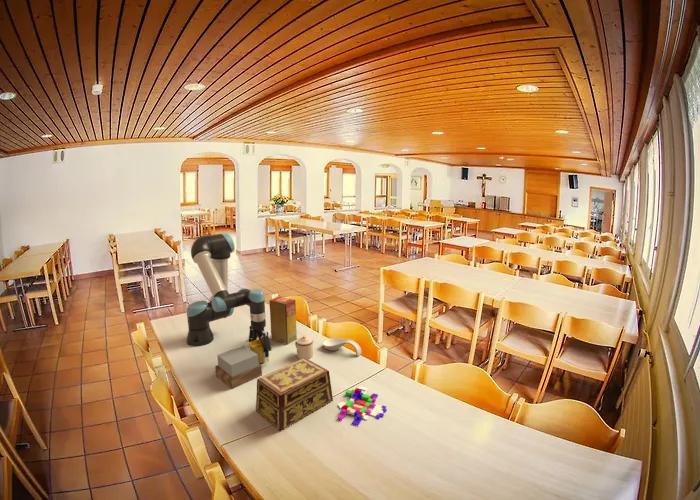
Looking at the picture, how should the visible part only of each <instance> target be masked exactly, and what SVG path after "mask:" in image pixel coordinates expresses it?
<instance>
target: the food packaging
mask: <svg viewBox="0 0 700 500" xmlns="http://www.w3.org/2000/svg"><path fill="white" fill-rule="evenodd" d="M296 304H297V303H296V299H292V298H288V297H283V296H281V295H279V296H276V297H274V298H271V299H270V300H269V314H270V315H269V316H270V317H269V319H270V337H271V341H274V342H278V343H281V344H283V345H289V344H291V343H292V342H294V341H297V340H298V338H297V337H298V336H297V333H298V332H297V308H296V307H297V305H296Z"/></svg>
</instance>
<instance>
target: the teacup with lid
mask: <svg viewBox="0 0 700 500" xmlns="http://www.w3.org/2000/svg"><path fill="white" fill-rule="evenodd" d="M294 344H295V347H296V356H297V359H298V360H300V359H303V358H306V359H308V360H310V359H311V358H313V356H314V346H313V345H314V339H313V338H311V337H309V336H307V335H302V337H299V338H297V339H296V340H295V342H294Z"/></svg>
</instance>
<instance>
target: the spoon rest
mask: <svg viewBox="0 0 700 500" xmlns="http://www.w3.org/2000/svg"><path fill="white" fill-rule="evenodd" d="M347 344H349V345H350V346H352V347H353V348H354V350H355V352H356V353H355V354H356V357H357V358H358V357H359V356H361V355H362V348H361V346H360V345H359V344H358V343H357V342H356V341H354V340H353V339H351V338H350V339H349V338H348V339H347V338H340V337H331V338H326V339H325V340H324V341H322V346H323V347H324V348H325V349H327V350H330V351H338V350H339V349H340V348H342V347H343V346H344V345H347Z"/></svg>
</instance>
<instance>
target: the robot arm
mask: <svg viewBox="0 0 700 500" xmlns="http://www.w3.org/2000/svg"><path fill="white" fill-rule="evenodd" d="M234 252H235V243H234V239H233V237H232V236H231V235H230V234H228V233H217V234H210V235H209V234H208V235H202V236H199V237H197V238H196V239H195V240H194V241H193V243H192V245H191V247H190V255H191V259H192V260H193V262H194V264H196V265H197V266H198V269H199V271H200V273H201V275H202V276H203V279H204V281H205V283H206V285H207V287H208V289H209V291H210V292H211V293H210V294H211V296H210V297H209V298H210V300H209V301H206V300H198V301H193V302H192V303H191V304H189V305H187V307H186V318H187V326H188V328H187V329H188V331H187V336H186V344H187V346H190V347H201V346H205V345H207V344H211V343H212V342H213V341H214V339H215V338H214V336H215V335H214V333H213V331H212V329H211V326H210V323H211V322H214V321H218V320H222V319H226V318H228V317H230V316H232V315H233V313H234V311H235V308H238V307H243V306H248V307H249V312H250V313H249V314H250V315H249V317H250V325H249V332H248V333H249V334H248V342H249V343H250V342H252V341H255V340H257V339H259V340H260V341H261V344H262V346H263V349H264V351H263V359H264V362H263V363H264V364H266V363H269V362H270V354H269V353H270V352H271V351H272V346H271V342H270V337H269V332H268V331H265V327H267V326H266V325H267V323H266V306H265V303H266V302H265V298H266V297H265V292H264V290H262V289H257V288H256V289H255V288H254V289H249V288H244V287H243V288H241V289H239V290H237V291H236V292H232V293H229V292H228V290H229V289H228V288H229V287H228V286H229V285H228V284H229V283H228V281H229V279H228V278H229V275H228V274H229V268H228V267H229V263H228V262H229V261H228V260H229V259H230V258H231V254H232V253H234Z"/></svg>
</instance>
